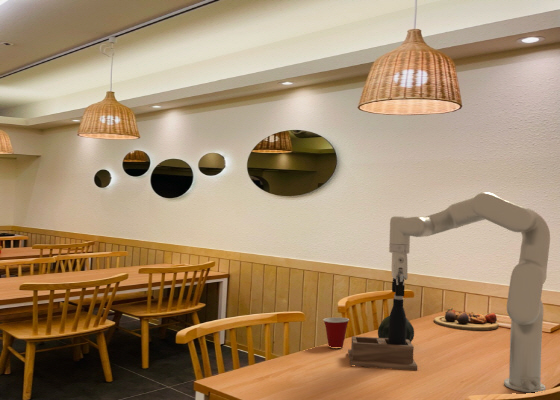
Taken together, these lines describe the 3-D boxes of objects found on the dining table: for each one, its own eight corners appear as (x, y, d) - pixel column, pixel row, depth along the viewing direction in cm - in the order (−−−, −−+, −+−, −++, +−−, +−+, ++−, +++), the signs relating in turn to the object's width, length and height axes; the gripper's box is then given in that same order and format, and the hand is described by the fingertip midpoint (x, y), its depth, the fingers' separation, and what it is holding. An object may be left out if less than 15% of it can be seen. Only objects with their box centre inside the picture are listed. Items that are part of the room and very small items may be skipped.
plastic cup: (331, 342, 227) (332, 314, 227) (353, 347, 220) (354, 318, 220) (316, 347, 218) (317, 318, 219) (338, 352, 212) (339, 322, 212)
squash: (381, 326, 238) (380, 305, 229) (416, 331, 233) (415, 309, 224) (376, 353, 228) (374, 331, 219) (412, 359, 223) (411, 337, 214)
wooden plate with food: (503, 324, 283) (503, 308, 283) (492, 334, 256) (492, 317, 256) (443, 317, 300) (443, 302, 300) (426, 326, 273) (426, 309, 273)
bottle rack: (417, 370, 191) (418, 349, 191) (350, 366, 193) (351, 345, 193) (409, 356, 209) (409, 337, 209) (348, 353, 211) (348, 334, 211)
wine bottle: (405, 361, 197) (408, 280, 197) (387, 359, 198) (390, 279, 198) (404, 356, 203) (407, 278, 203) (387, 355, 204) (390, 277, 205)
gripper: (413, 251, 192) (411, 298, 192) (405, 247, 210) (404, 291, 209) (392, 250, 193) (390, 297, 193) (386, 247, 210) (385, 290, 210)
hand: (397, 294), depth 201 cm, fingers open, 9 cm apart
